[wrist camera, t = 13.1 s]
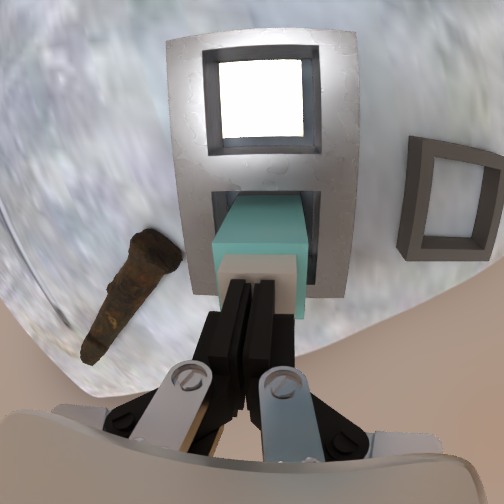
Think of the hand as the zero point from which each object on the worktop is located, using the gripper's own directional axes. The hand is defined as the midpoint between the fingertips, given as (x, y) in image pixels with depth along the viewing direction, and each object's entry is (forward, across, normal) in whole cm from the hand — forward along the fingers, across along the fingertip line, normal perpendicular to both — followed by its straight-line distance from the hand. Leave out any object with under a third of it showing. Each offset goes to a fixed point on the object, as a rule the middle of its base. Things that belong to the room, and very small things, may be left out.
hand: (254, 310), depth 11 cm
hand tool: (+11, +14, +9) cm, 20 cm away
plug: (+10, 0, 0) cm, 10 cm away
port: (+10, 0, -4) cm, 11 cm away
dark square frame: (+10, -14, -2) cm, 18 cm away
